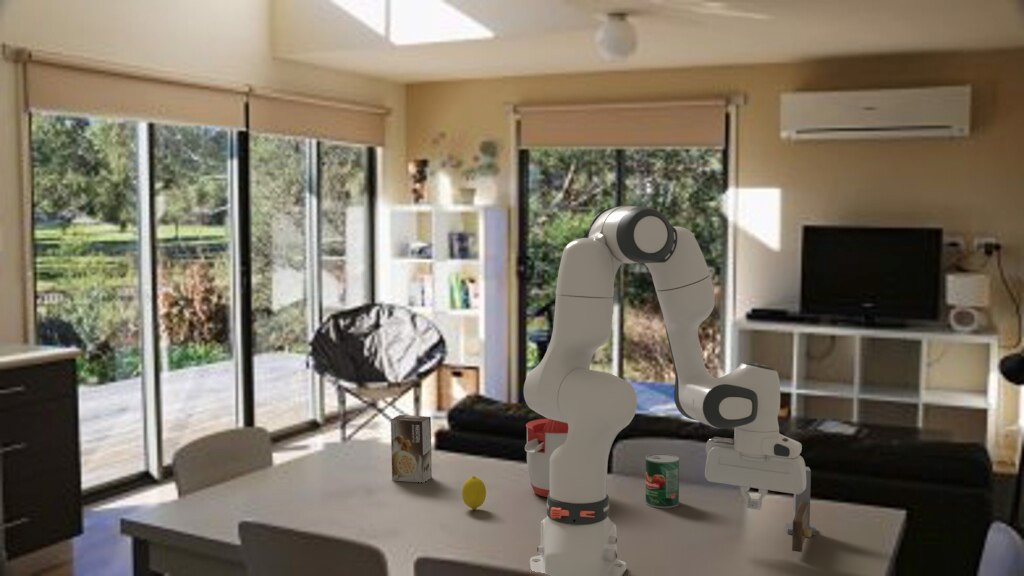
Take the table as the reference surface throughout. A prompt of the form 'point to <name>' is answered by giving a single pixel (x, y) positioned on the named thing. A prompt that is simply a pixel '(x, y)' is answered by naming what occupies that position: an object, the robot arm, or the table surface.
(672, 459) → the canned tomato
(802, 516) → the gate leaf
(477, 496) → the lemon
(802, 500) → the gatepost
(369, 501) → the table surface
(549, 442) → the citrus juicer
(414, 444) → the coffee box
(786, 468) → the robot arm
